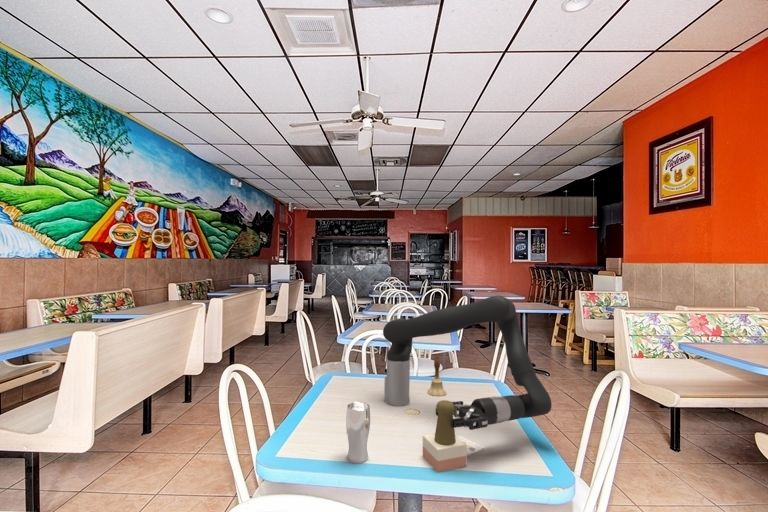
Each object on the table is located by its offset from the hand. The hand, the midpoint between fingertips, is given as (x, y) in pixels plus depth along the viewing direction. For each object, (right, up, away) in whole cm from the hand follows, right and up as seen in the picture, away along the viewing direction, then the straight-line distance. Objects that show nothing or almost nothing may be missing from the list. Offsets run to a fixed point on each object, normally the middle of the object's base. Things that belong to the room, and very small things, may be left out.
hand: (443, 417), depth 110 cm
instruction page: (+8, -13, +9) cm, 18 cm away
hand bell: (+6, -13, +57) cm, 58 cm away
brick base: (0, -12, 0) cm, 12 cm away
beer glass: (-25, -12, +1) cm, 27 cm away
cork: (0, -7, 0) cm, 7 cm away
